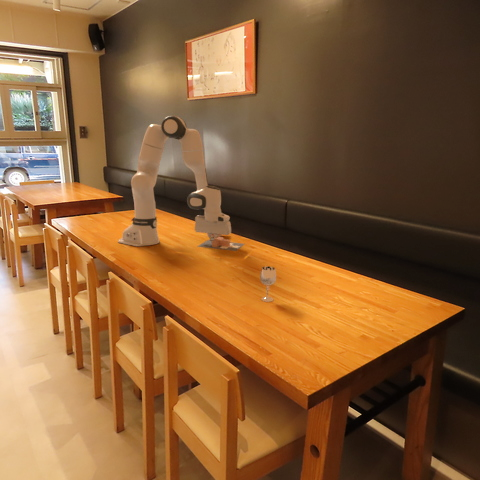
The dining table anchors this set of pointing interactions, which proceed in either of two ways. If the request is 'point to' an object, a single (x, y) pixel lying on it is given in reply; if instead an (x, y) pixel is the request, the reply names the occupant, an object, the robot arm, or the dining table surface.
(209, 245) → the t mat
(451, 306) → the dining table surface
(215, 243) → the t block
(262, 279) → the wineglass
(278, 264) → the dining table surface
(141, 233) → the robot arm
